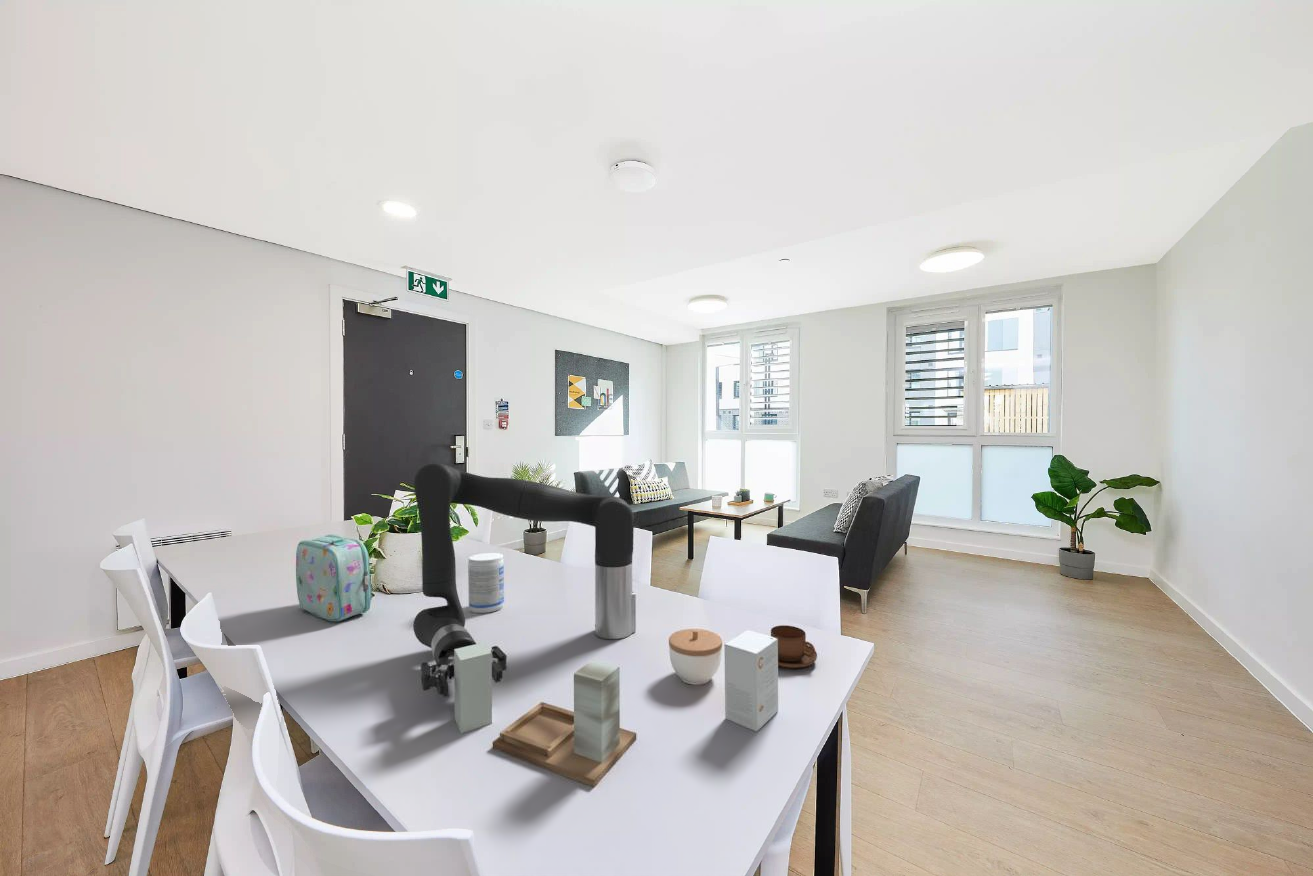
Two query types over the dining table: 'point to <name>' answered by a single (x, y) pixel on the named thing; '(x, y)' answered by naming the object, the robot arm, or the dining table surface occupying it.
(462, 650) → the sage block
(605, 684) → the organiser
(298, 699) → the dining table surface
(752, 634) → the small box
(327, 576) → the lunch box
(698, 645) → the lidded jar
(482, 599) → the supplement tub
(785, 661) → the cup and saucer
